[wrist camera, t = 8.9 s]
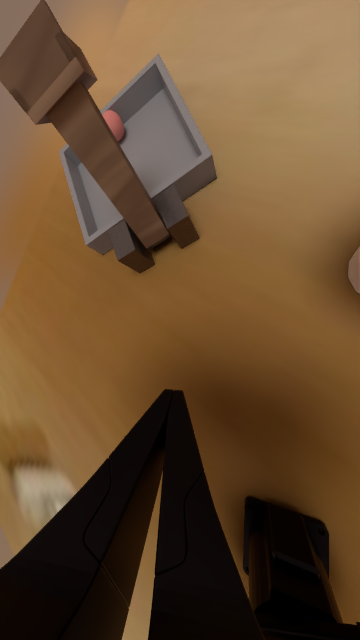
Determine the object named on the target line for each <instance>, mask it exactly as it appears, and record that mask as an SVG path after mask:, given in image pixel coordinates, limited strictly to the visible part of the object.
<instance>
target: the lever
mask: <svg viewBox="0 0 360 640" xmlns="http://www.w3.org/2000/svg"><path fill="white" fill-rule="evenodd" d="M0 81H1V82H2V84H3V85H4V86H5V87H6V89H7V90H8V91H9V92H10V94H11V95H12V96H13V97H14V99H15V100H16V101H17V102H18V103H19V105H20V106H21V107H22V109H23V110H24V111H25V112H26V113H27V115H28V116H29V117H30V118H31V120H32V121H33V122H34V123H35V124H36V125H37V124H44V123H51V122H52V124H53V125H54V126H55V128H56V129H57V130H58V132H59V133H60V134H61V136H62V137H63V138H64V140H65V141H66V142H67V144H68V145H69V146H70V148H71V149H72V150H73V152H74V153H75V154H76V156H77V157H78V158H79V160H80V161H81V162H82V164H83V165H84V166H85V168H86V169H87V170H88V172H89V173H90V174H91V176H92V177H93V178H94V180H95V181H96V182H97V184H98V185H99V186H100V188H101V189H102V190H103V191H104V193H105V194H106V195H107V197H108V198H109V199H110V201H111V202H112V203H113V205H114V206H115V207H116V209H117V210H118V211H119V213H120V214H121V215H122V217H123V218H124V219H125V221H126V222H127V223H128V225H129V226H130V227H131V229H132V230H133V231H134V233H135V234H136V235H137V237H138V238H139V239H140V241H141V242H142V243H143V245H144V246H145V247H146V249H147V248H148V249H152V248H154V247H155V246H157V245H158V244H160V243H162V242H163V241H165V240H167V239H168V238H170V237H171V235H170V232H169V231H168V230H167V228H166V225H165V223H164V221H163V218H162V216H161V214H160V213H159V211H158V209H157V208H156V206H155V204H154V202H153V201H152V199H151V197H150V196H149V194H148V192H147V191H146V189H145V187H144V185H143V184H142V182H141V180H140V179H139V177H138V175H137V174H136V172H135V170H134V168H133V167H132V165H131V163H130V162H129V160H128V158H127V157H126V155H125V153H124V151H123V150H122V148H121V146H120V145H119V143H118V141H117V140H116V138H115V136H114V134H113V133H112V131H111V129H110V128H109V126H108V124H107V123H106V121H105V119H104V117H103V116H102V114H101V112H100V111H99V109H98V107H97V106H96V104H95V102H94V100H93V99H92V97H91V95H90V94H89V92H88V89H89V88H90V87H91V86H92V85H93V84H94V83H95V82H96V81H97V78H96V76H95V74H94V73H93V71H92V69H91V67H90V65H89V63H88V61H87V60H86V58H85V56H84V54H83V52H82V51H81V49H80V48H79V47H78V46H77V45H76V44H75V43H74V42H73V41H72V40H71V39H70V38H69V37H68V36H67V35H66V34H64V33H63V31H62V29H61V28H60V26H59V24H58V22H57V21H56V19H55V17H54V15H53V13H52V12H51V10H50V8H49V6H48V5H47V3H46V2H45V1H44V0H41V1H40V3H39V4H38V5H37V7H36V8H35V9H34V11H33V12H32V14H31V15H30V16H29V18H28V19H27V21H26V22H25V24H24V25H23V26H22V28H21V29H20V31H19V32H18V33H17V35H16V36H15V38H14V39H13V40H12V42H11V43H10V45H9V46H8V48H7V49H6V50H5V52H4V53H3V54H2V56H1V57H0Z"/></svg>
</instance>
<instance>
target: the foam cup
mask: <svg viewBox="0 0 360 640" xmlns="http://www.w3.org/2000/svg"><path fill="white" fill-rule="evenodd" d="M348 278H349V280H350V282H351V284H352V285H353V287H354V289H355V291H356V292H358V293H359V294H360V247H359V248H358V249H357V250H356V252H355V253H354V255H353V256H352V258H351V259H350V261H349V268H348Z"/></svg>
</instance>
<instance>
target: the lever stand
mask: <svg viewBox="0 0 360 640" xmlns="http://www.w3.org/2000/svg"><path fill="white" fill-rule="evenodd" d="M154 199H155V201H156V203H157V206H158V208H159V211H160V213H161V216H162V218H163V221H164V223H165V225H166V228H167V230H168V231H169V232H170V234H171V235H172V236H173V238H174V239H175V240H176V242H177V243H178V244H179V246H180V247H181V248H184V247H186V246H187V245H189V244H191V243H192V242H194V241H196V240H198V239H199V236H198V234H197V232H196V230H195V227H194V225H193V223H192V221H191V218H190V216H189V214H188V212H187V210H186V208H185V206H184V204H183V201H182V199H181V197H180V195H179V193H178V191H177V189H176V187H175V185H174V184H173V185H172V186H170V187H169V188H168V189H166V190H165V191H163V192H162V193H161V194H159V195H158V196H156V197H155V198H154ZM108 232H109V235H110V238H111V241H112V244H113V247H114V251H115V254H116V257H117V260H118V261H119V262H121V263H123V264H125V265H126V266H128V267H130V268H132V269H133V270H135V271H137V272H139V273H141V272H143V271H145V270H146V269H148V268H150V267H151V266H153V265H155V264H154V261H153V258H152V256H151V253H150V250H149V249H148V248H147V249H146V247H145V246H144V245H143V243H142V242H141V241H140V239H139V238H138V237H137V235H136V234H135V233H134V231H133V230H132V229H131V227H130V226H129V225H128V223H127V222H126V221H125V219H124V220H123V221H122V222H120V223H119V224H117V225H116V226H115V227H113V228H112V229H110V230H109V231H108Z"/></svg>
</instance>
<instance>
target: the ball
mask: <svg viewBox="0 0 360 640" xmlns="http://www.w3.org/2000/svg"><path fill="white" fill-rule="evenodd" d="M102 116H103V117H104V119H105V121H106V123H107V124H108V126H109V128H110V129H111V131H112V133H113V134H114V136H115V138H116V140H117V141H120V140H121V139H122V137H123V134H124V126H123V122H122V120H121V118H120V116H119V115H118V114H117V113H116V112H114V111H112V110H107V111H105V112H104V113H103V115H102Z"/></svg>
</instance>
